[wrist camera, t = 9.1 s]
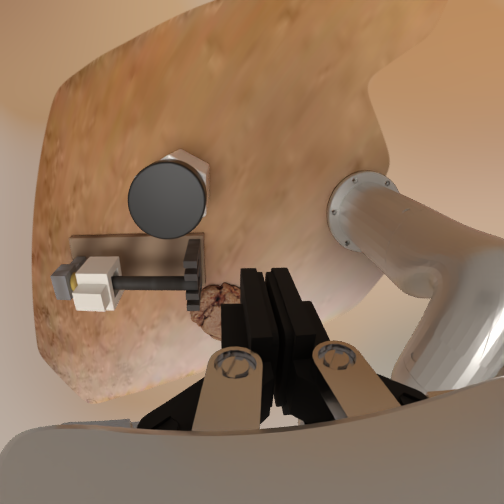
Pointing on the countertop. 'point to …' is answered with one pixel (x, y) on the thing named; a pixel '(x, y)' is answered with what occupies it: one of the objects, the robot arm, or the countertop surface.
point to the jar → (170, 195)
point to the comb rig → (140, 263)
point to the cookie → (214, 307)
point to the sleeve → (97, 284)
